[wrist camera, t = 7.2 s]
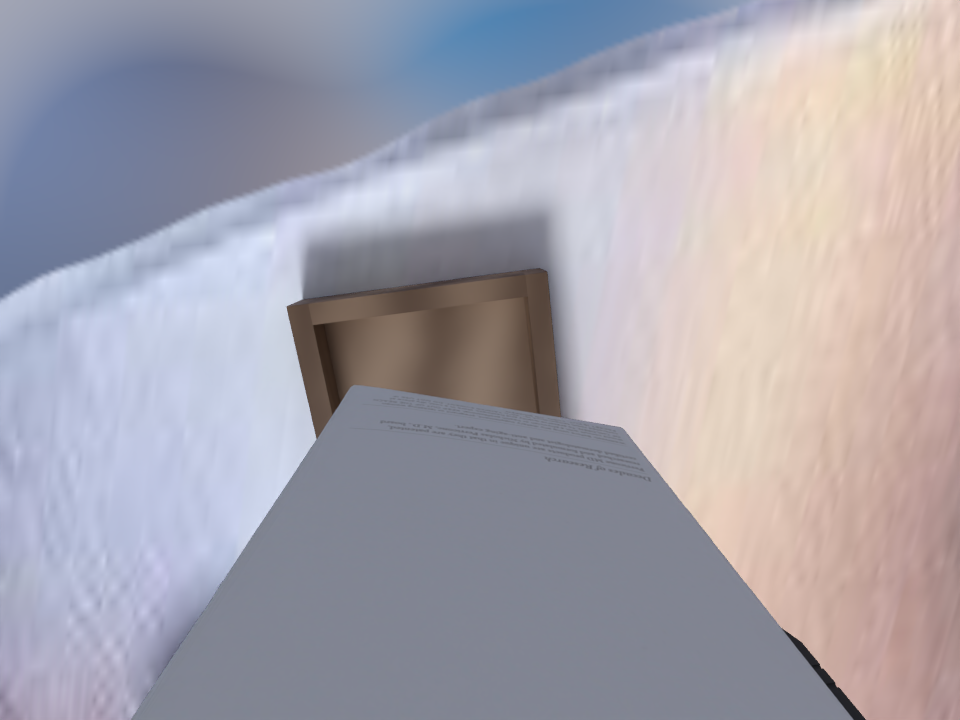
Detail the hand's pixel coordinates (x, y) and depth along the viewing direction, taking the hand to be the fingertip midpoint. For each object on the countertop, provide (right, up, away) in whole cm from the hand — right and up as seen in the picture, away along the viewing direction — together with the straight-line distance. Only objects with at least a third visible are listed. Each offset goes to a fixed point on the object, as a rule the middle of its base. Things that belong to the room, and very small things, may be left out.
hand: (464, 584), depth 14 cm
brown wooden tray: (-2, +4, +18) cm, 18 cm away
